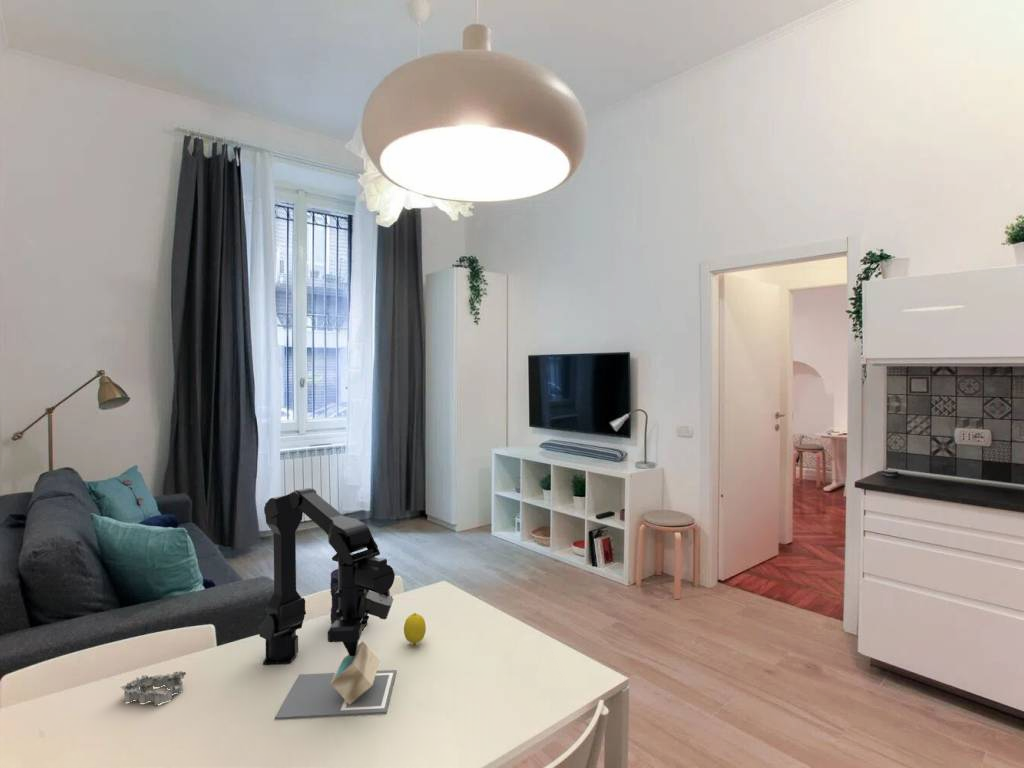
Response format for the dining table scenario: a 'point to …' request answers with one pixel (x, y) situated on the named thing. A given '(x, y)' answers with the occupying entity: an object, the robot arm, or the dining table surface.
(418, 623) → the lemon
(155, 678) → the egg carton
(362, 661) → the block
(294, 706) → the mat
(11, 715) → the dining table surface
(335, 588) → the storage jar
